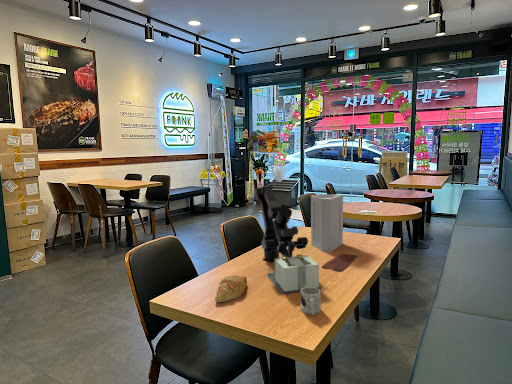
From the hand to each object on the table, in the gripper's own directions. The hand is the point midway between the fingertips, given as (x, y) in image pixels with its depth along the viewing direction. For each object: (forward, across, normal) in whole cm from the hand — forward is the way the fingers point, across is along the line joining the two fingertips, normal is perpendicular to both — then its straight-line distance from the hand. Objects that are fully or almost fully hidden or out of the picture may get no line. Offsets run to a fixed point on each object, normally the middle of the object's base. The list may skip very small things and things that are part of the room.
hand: (290, 262), depth 141 cm
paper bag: (-24, +35, +35) cm, 55 cm away
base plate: (+7, 0, +4) cm, 8 cm away
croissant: (+10, -26, +2) cm, 28 cm away
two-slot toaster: (+10, 0, +1) cm, 10 cm away
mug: (+26, -3, -14) cm, 30 cm away
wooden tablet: (-4, +31, +16) cm, 35 cm away
